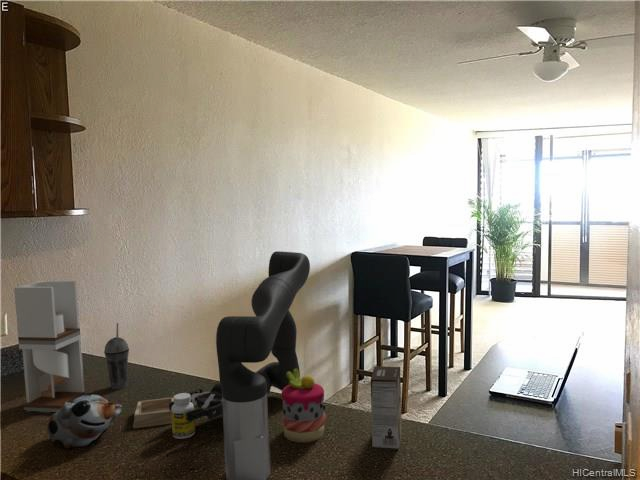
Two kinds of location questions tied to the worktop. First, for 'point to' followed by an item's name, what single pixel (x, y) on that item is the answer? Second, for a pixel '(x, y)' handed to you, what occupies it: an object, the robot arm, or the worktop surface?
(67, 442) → the lucky cat figurine
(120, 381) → the beverage cup
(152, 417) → the birch dock
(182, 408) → the supplement bottle
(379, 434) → the coffee box
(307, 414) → the cake
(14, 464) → the worktop surface
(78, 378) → the white shelf stand
